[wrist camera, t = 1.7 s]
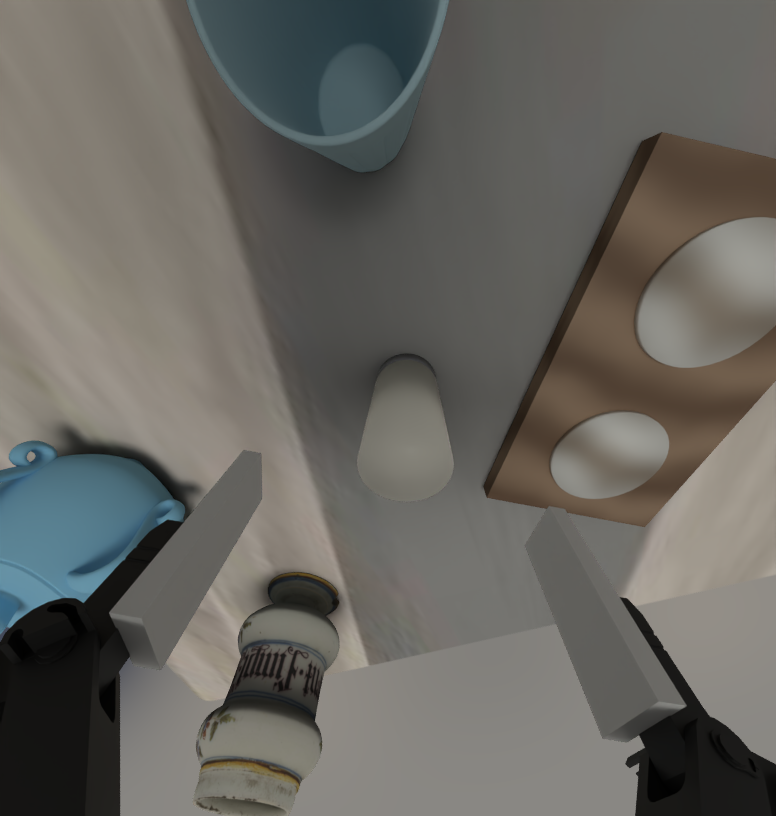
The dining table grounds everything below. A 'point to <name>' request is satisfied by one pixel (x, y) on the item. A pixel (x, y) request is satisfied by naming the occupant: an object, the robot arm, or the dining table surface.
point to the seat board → (653, 339)
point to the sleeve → (405, 433)
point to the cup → (326, 68)
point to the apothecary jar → (270, 704)
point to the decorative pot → (71, 523)
